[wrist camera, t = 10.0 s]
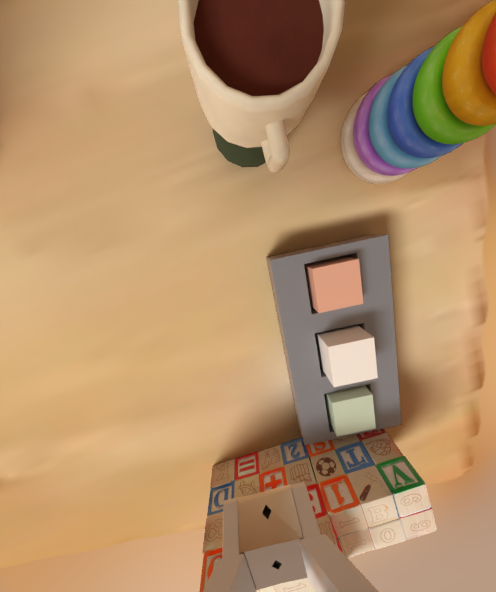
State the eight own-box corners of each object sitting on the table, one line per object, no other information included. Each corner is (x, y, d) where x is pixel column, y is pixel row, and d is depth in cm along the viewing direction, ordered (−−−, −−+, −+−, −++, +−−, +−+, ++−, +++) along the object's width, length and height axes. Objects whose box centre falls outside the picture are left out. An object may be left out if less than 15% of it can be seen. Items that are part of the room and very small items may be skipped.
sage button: (322, 385, 28) (332, 403, 26) (358, 378, 28) (372, 394, 26) (326, 416, 29) (336, 436, 27) (362, 409, 29) (375, 428, 27)
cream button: (317, 334, 25) (328, 347, 23) (358, 325, 25) (373, 337, 22) (323, 370, 26) (333, 387, 24) (362, 362, 26) (377, 378, 24)
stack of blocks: (372, 411, 31) (457, 521, 19) (383, 450, 33) (467, 574, 21) (211, 465, 32) (196, 603, 20) (228, 500, 33) (224, 648, 22)
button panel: (266, 257, 26) (270, 260, 23) (371, 234, 26) (388, 234, 23) (298, 425, 31) (304, 445, 28) (385, 406, 31) (401, 424, 28)
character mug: (298, 183, 24) (366, 128, 12) (227, 204, 24) (219, 172, 12) (270, 51, 22) (318, -202, 9) (191, 76, 22) (130, -141, 9)
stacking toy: (351, 199, 25) (665, 103, 7) (326, 113, 23) (668, -345, 5) (427, 166, 24) (983, -31, 6) (408, 76, 23) (1124, -580, 4)
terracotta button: (303, 264, 25) (312, 268, 22) (344, 256, 25) (358, 258, 22) (309, 304, 26) (318, 313, 23) (349, 296, 26) (363, 303, 23)
